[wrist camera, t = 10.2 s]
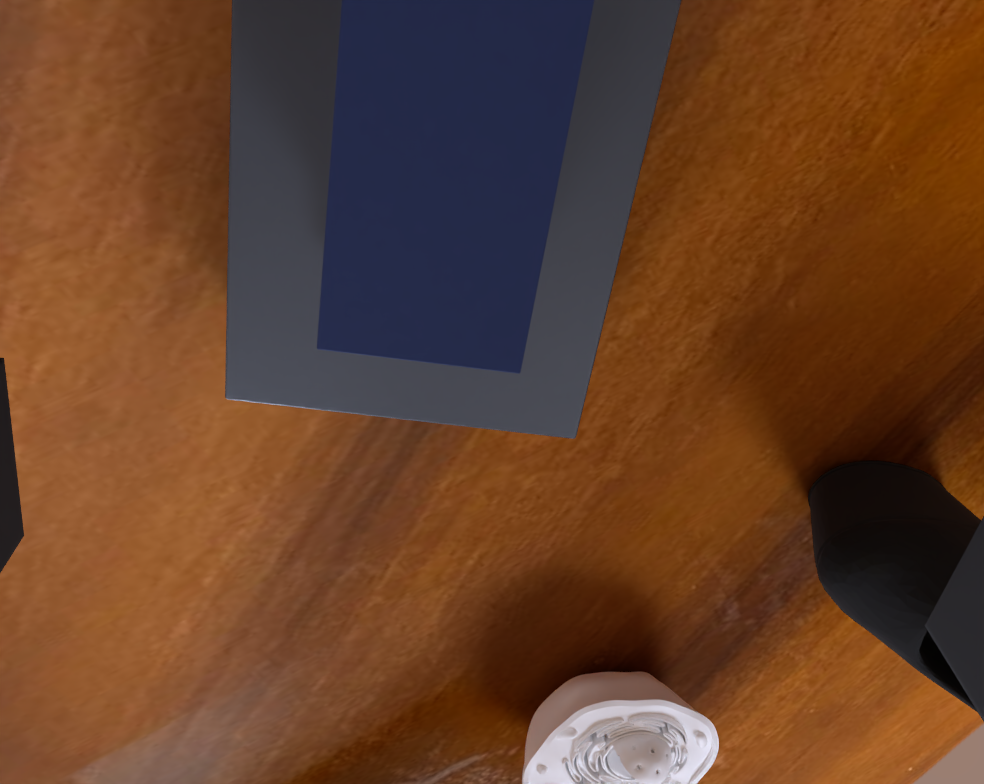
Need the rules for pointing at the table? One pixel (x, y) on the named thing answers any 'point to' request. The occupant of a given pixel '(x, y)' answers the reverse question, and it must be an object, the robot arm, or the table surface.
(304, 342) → the shoe shelf
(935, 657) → the high-heeled shoe
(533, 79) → the navy block on base
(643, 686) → the cell model
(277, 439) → the table surface
